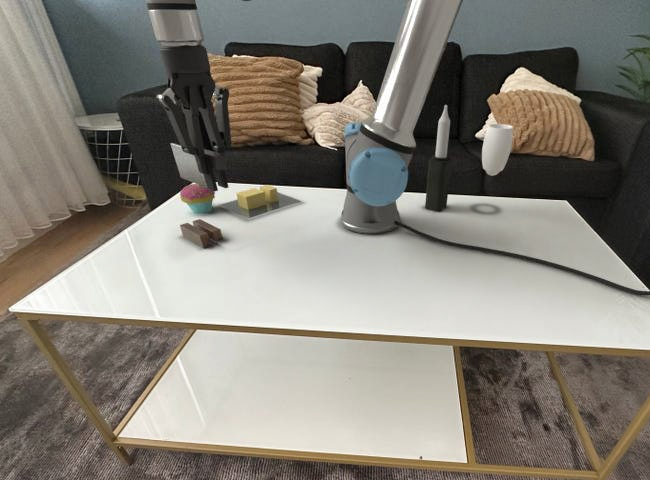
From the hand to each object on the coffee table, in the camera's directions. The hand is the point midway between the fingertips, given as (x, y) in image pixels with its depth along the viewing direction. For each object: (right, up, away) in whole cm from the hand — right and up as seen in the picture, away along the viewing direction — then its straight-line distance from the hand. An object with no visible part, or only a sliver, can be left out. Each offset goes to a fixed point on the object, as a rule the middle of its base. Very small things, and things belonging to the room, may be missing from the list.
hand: (218, 187), depth 84 cm
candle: (+49, +8, +32) cm, 59 cm away
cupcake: (-15, +4, +26) cm, 30 cm away
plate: (0, +8, +30) cm, 31 cm away
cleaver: (-4, +2, +3) cm, 5 cm away
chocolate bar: (-9, -7, +13) cm, 17 cm away
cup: (+63, +7, +31) cm, 71 cm away
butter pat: (+2, +10, +32) cm, 34 cm away
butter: (-2, +7, +29) cm, 30 cm away
